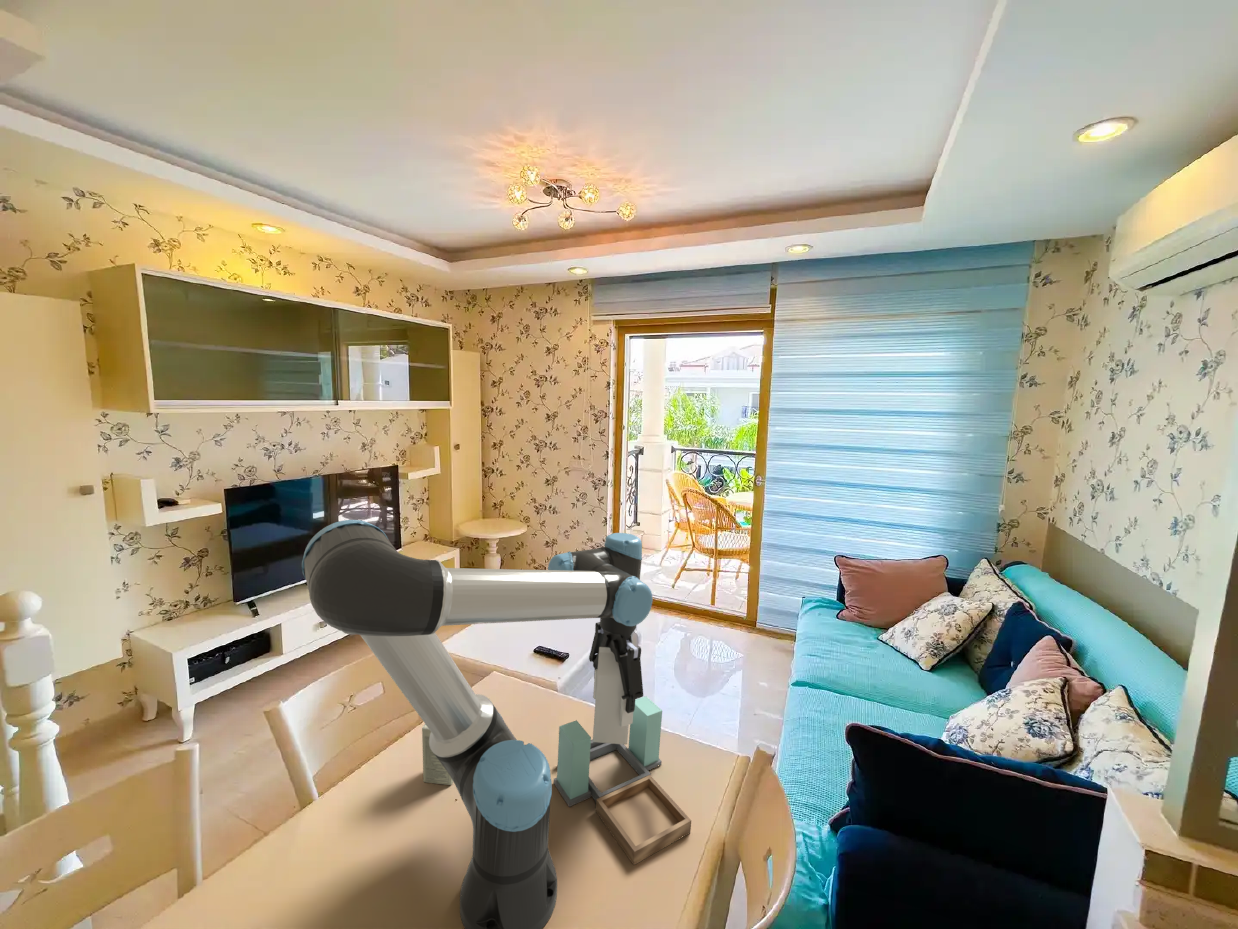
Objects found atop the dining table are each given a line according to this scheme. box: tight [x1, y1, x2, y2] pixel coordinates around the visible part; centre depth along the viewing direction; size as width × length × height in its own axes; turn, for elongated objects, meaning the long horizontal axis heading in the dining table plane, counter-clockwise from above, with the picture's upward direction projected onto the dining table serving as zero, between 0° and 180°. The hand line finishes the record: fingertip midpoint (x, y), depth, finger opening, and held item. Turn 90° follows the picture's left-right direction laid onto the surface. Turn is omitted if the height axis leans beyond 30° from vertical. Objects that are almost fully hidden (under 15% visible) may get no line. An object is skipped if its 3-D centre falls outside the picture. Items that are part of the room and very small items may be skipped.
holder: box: [553, 695, 663, 808], centre depth 107 cm, size 23×14×13 cm, turn 123°
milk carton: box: [592, 647, 630, 745], centre depth 105 cm, size 7×7×19 cm
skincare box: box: [421, 723, 454, 786], centre depth 103 cm, size 6×4×12 cm
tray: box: [595, 775, 692, 866], centre depth 95 cm, size 13×13×3 cm
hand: (612, 710), depth 105 cm, fingers closed on milk carton, 10 cm apart
